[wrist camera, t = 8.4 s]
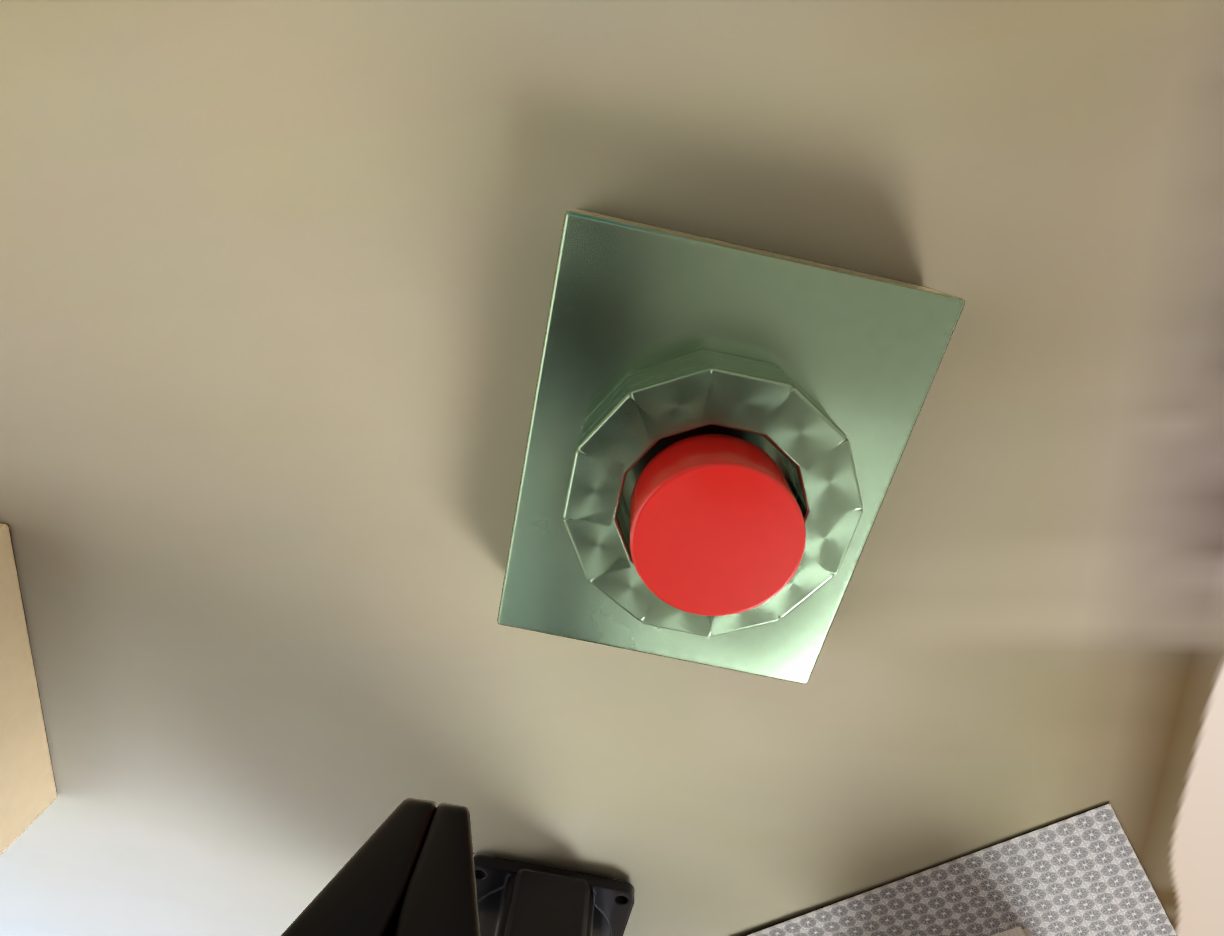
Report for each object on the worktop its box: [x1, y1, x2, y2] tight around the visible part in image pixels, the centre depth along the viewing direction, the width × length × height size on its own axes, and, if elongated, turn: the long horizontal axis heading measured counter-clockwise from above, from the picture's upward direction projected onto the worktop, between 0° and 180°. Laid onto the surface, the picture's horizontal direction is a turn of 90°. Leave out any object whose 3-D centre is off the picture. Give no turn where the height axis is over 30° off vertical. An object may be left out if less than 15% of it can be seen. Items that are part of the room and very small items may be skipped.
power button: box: [630, 434, 806, 616], centre depth 14 cm, size 4×4×2 cm
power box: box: [497, 209, 965, 684], centre depth 16 cm, size 11×9×4 cm
